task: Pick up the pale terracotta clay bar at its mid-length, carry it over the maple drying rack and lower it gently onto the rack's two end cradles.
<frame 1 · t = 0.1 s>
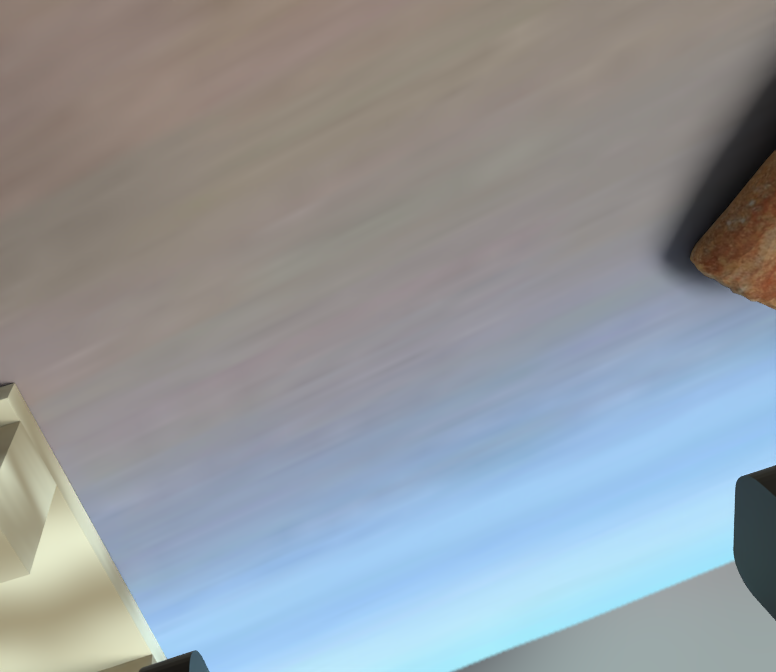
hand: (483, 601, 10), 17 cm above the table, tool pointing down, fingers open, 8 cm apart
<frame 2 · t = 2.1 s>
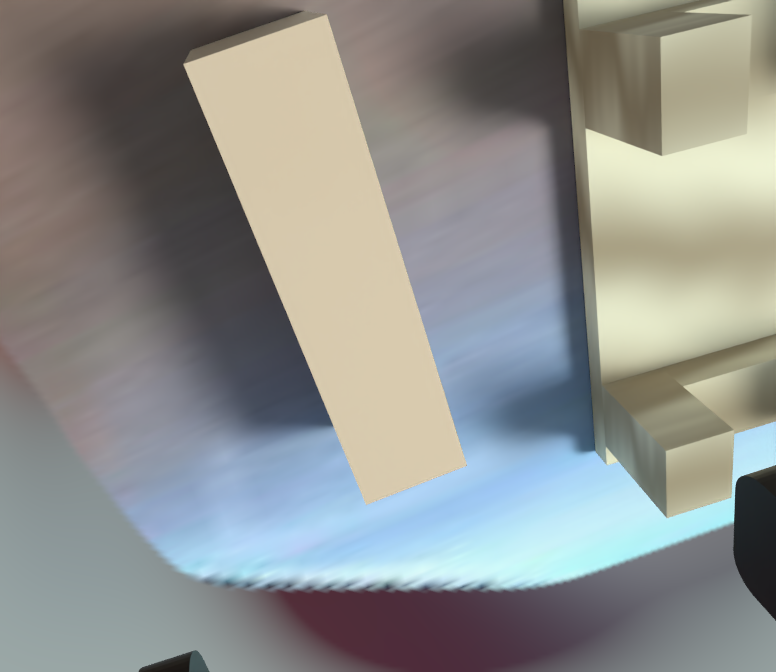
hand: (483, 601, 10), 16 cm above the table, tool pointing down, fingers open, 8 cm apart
clay bar: (325, 243, 24), on the table
rack: (705, 225, 27), on the table
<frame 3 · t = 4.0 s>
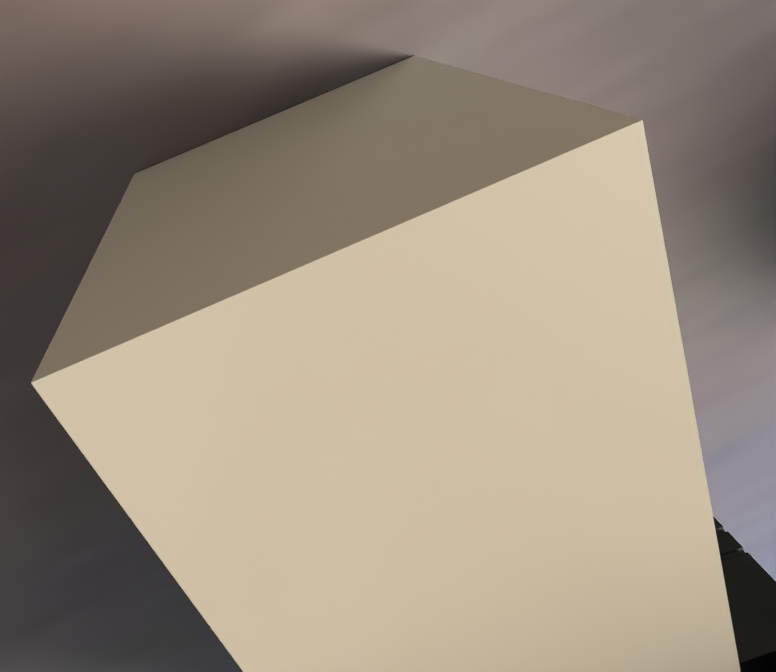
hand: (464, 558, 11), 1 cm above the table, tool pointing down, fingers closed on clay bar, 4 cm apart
clay bar: (454, 531, 11), on the table, touching gripper
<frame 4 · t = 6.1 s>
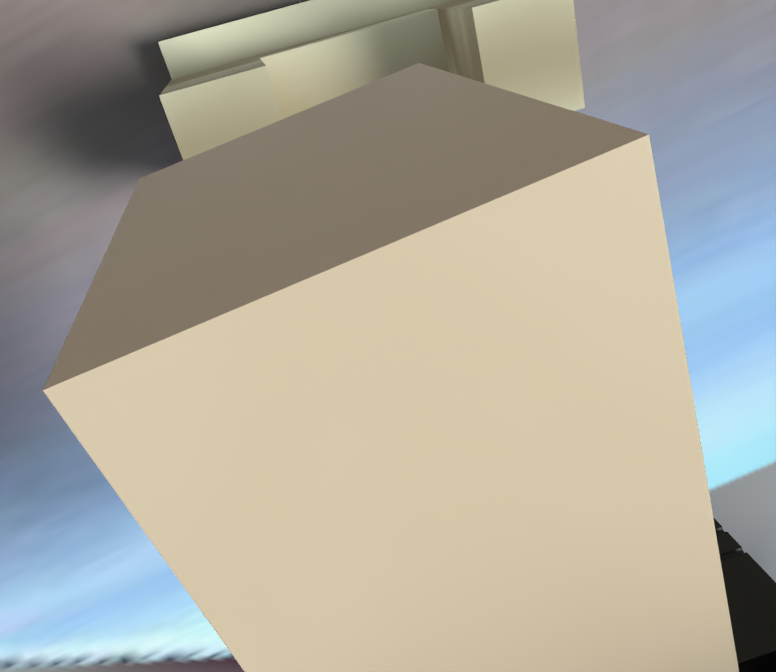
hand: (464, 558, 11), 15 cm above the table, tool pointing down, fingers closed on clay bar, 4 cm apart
clay bar: (454, 535, 11), point 14 cm above the table, touching gripper
rack: (397, 271, 25), on the table
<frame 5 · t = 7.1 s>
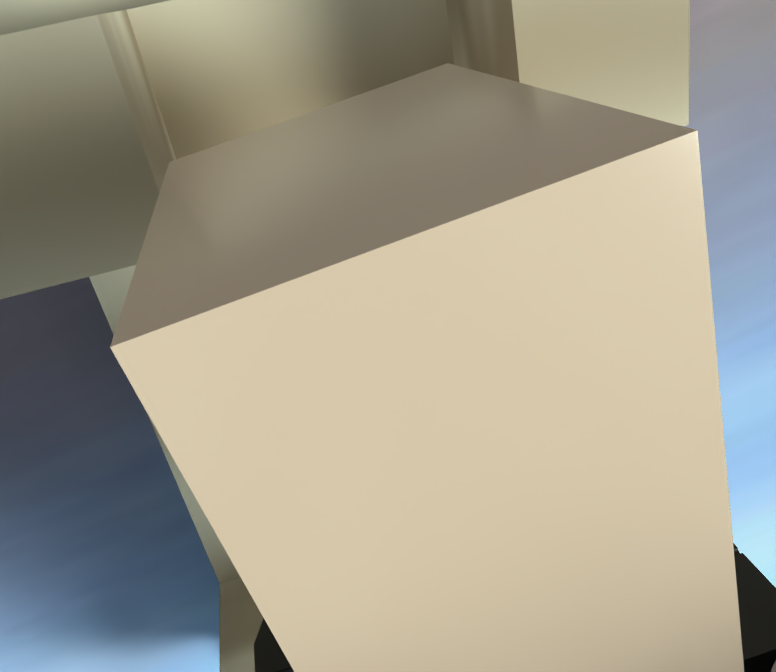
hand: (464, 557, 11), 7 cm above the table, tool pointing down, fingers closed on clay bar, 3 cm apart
clay bar: (454, 531, 12), point 6 cm above the table, touching gripper
rack: (362, 344, 17), on the table
when the fingers open (4 cm above the table, at t = 8.0 s): clay bar stays where it is, resting on rack.
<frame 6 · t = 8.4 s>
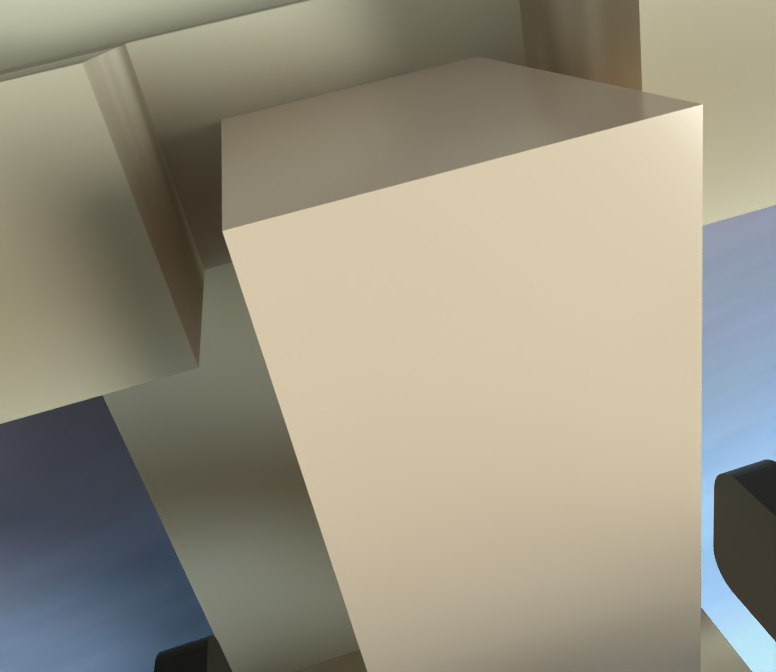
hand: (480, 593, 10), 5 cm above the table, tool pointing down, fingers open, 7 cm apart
clay bar: (440, 493, 12), point 2 cm above the table, touching rack
rack: (402, 416, 15), on the table
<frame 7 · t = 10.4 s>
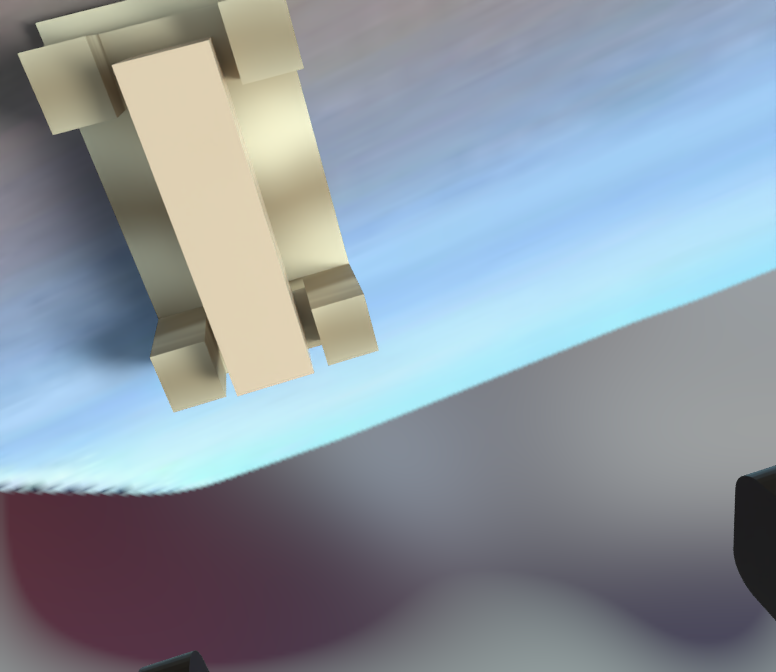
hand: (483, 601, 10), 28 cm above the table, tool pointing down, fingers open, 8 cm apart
clay bar: (225, 206, 32), point 2 cm above the table, touching rack
rack: (223, 192, 35), on the table
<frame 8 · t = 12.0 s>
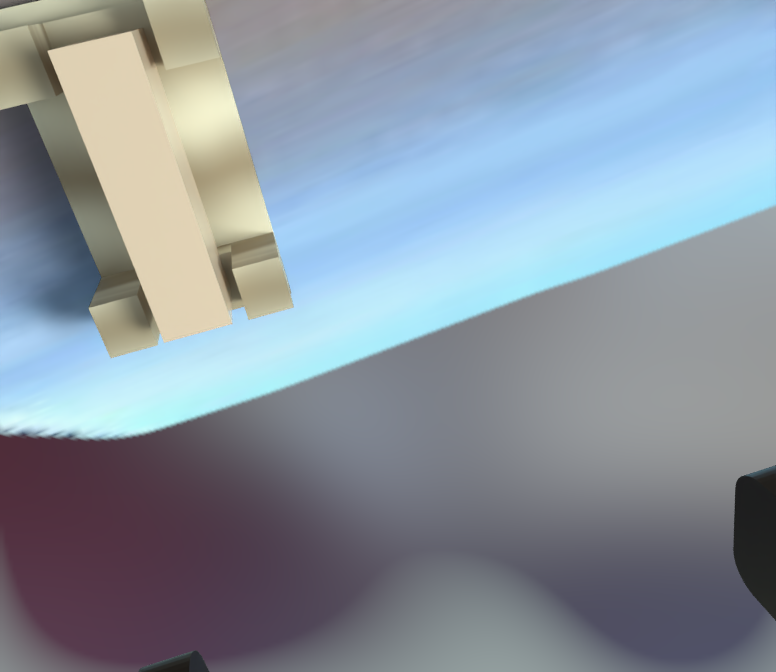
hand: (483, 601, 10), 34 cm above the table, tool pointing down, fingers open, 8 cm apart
clay bar: (157, 177, 37), point 2 cm above the table, touching rack
rack: (159, 166, 39), on the table
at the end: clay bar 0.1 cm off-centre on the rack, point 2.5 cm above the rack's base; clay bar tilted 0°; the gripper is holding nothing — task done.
